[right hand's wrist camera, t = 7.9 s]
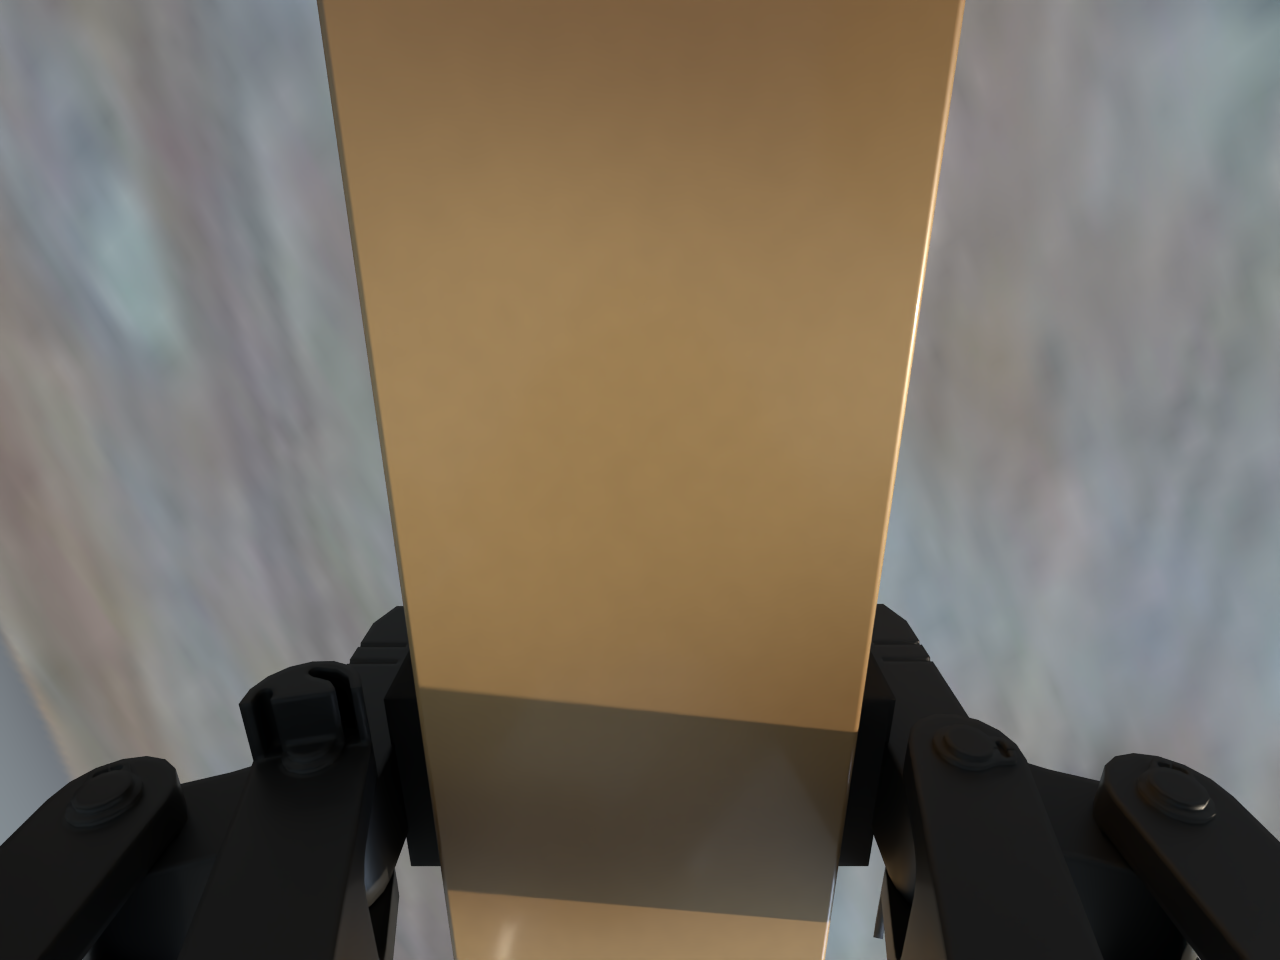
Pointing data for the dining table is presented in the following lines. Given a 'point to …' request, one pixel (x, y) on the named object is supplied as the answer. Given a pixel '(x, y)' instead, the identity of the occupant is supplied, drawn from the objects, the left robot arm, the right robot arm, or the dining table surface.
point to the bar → (640, 436)
